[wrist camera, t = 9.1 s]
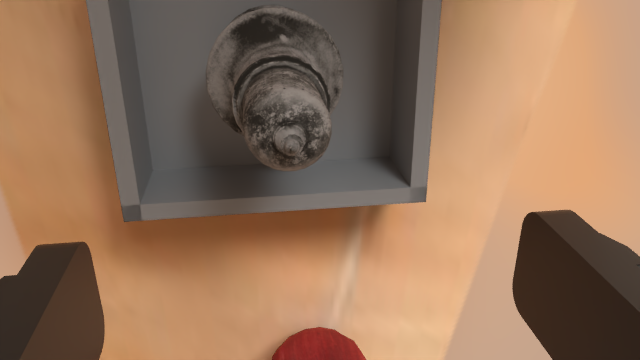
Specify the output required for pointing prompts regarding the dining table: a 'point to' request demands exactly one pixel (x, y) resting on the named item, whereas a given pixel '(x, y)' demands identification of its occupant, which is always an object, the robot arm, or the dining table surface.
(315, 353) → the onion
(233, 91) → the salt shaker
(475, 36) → the dining table surface
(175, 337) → the dining table surface
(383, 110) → the box
